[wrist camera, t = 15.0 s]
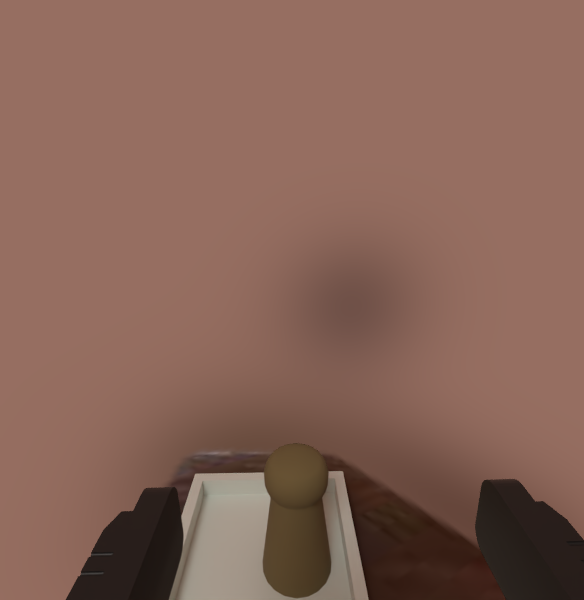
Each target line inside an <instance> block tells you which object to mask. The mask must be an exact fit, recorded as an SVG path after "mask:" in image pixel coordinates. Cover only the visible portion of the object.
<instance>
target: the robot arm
mask: <svg viewBox="0 0 584 600" xmlns="http://www.w3.org/2000/svg"><path fill="white" fill-rule="evenodd" d="M475 529H476V536H477V541H478V544H479V547H480V550H481V552H482V554H483V556H484V558H485V560H486V562H487V564H488V565H489V567H490V569H491V571H492V573H493V575H494V577H495V579H496V581H497V583H498V585H499V587H500V588H501V590H502V592H503V594H504V596H505V598H506V600H584V540H583V539H582V537H581V536H580V535H579V534H578V533H577V531H576V530H575V529H574V528H573V526H572V525H571V524H570V523H569V522H568V520H567V519H565V518H564V517H563V516H562V515H560V514H559V513H557V512H556V511H555V510H553V508H551V507H550V506H548V505H547V504H546V503H545V502H543V501H541V502H535V501H534V500H533V498H532V497H531V496H530V494H529V493H528V492H527V490H526V489H525V488H524V487H523V485H522V484H521V483H520V482H519V481H517V480H515V479H503V480H484V481H483V483H482V486H481V492H480V498H479V505H478V511H477V517H476V524H475ZM183 539H184V534H183V525H182V519H181V512H180V505H179V499H178V493H177V489H176V488H175V487H165V488H146V489H144V491H143V492H142V494H141V496H140V498H139V500H138V502H137V504H136V506H135V509H134V510H133V511H129V512H128V511H124V512H121V513H120V514H119V515H118V516H117V517H116V518H115V519H114V520H113V521H112V522H111V523H110V524H109V525H108V526H107V527H106V528H105V529H104V530H103V532H102V534H101V536H100V537H99V539H98V541H97V543H96V545H95V547H94V548H93V550H92V552H91V557H89V558H88V560H87V561H86V563H85V565H84V567H83V569H82V571H81V575H80V576H79V577H78V578H77V580H76V582H75V584H74V586H73V588H72V589H71V591H70V593H69V595H68V597H67V599H66V600H169V597H170V594H171V590H172V587H173V583H174V580H175V577H176V573H177V570H178V566H179V563H180V559H181V555H182V549H183Z"/></svg>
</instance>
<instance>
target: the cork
mask: <svg viewBox="0 0 584 600" xmlns="http://www.w3.org/2000/svg"><path fill="white" fill-rule="evenodd" d="M328 476H329V472H328V468H327V465H326V461H325V459H324V458H323V457H322V455H321V454H320V453H319V452H318V450H316V449H314V448H313V447H311V446H308V445H305V444H298V443H294V444H287V445H284V446H281V447H279V448H278V449H276V450H275V451H274V452H273V453H272V454H271V455H270V457H269V458H268V460H267V463H266V465H265V469H264V481H265V487H266V490H267V492H268V494H269V496H270V506H269V514H268V522H267V530H266V538H265V546H264V553H263V573H264V575H265V578H266V580H267V582H268V583H269V585H270V586H271V587H272V588H273V589H274V590H275V591H277V592H278V593H280V594H282V595H284V596H286V597H292V598H303V597H309V596H310V595H312V594H314V593H316V592H318V591H319V590H320V589H321V588H322V587H323V586H324V585H325V584H326V582H327V580H328V578H329V575H330V573H331V556H330V549H329V542H328V535H327V528H326V521H325V514H324V507H323V500H322V497H323V495H324V493H325V492H326V489H327V486H328Z"/></svg>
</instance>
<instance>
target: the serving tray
mask: <svg viewBox="0 0 584 600" xmlns="http://www.w3.org/2000/svg"><path fill="white" fill-rule="evenodd" d="M328 472H329V476H328V486H327V489H326V492H325V493H324V495H323V497H322V500H323V507H324V514H325V521H326V528H327V535H328V542H329V549H330V556H331V573H330V575H329V578H328V580H327V582H326V584H325V585H324V586H323V587H322V588H321V589H320V590H319V591H318V592H316V593H314V594H312V595H310V596H309V597H303V598H292V597H286V596H284V595H282V594H280V593H278V592H277V591H275V590H274V589H273V588H272V587H271V586H270V585H269V583H268V582H267V580H266V578H265V575H264V573H263V553H264V546H265V538H266V530H267V522H268V514H269V506H270V496H269V494H268V492H267V490H266V487H265V481H264V473H219V474H195V476H194V480H193V483H192V486H191V489H190V492H189V495H188V498H187V501H186V504H185V507H184V510H183V514H182V517H181V519H182V525H183V534H184V539H183V549H182V555H181V559H180V563H179V566H178V570H177V573H176V577H175V580H174V583H173V587H172V590H171V594H170V597H169V600H369V599H368V594H367V589H366V584H365V579H364V574H363V569H362V564H361V559H360V554H359V549H358V544H357V539H356V535H355V530H354V525H353V520H352V515H351V510H350V505H349V500H348V495H347V490H346V485H345V480H344V475H343V471H328Z"/></svg>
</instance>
